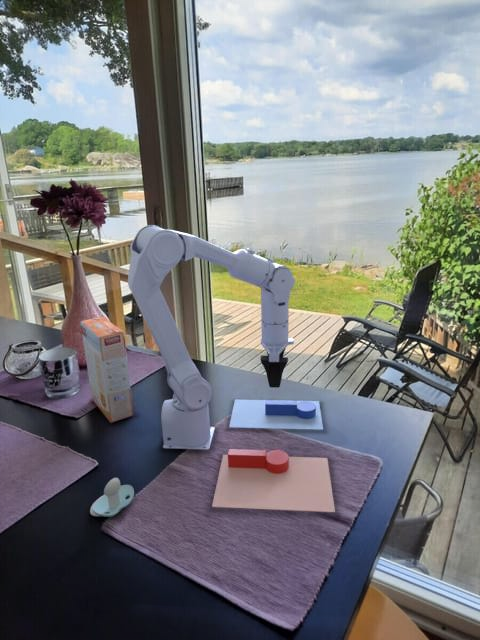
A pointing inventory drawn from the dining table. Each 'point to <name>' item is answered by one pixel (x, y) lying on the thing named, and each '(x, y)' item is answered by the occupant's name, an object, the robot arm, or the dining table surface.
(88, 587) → the dining table surface
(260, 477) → the rose mat
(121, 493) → the pacifier
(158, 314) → the robot arm
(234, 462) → the red spoon
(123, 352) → the cracker box
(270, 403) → the blue spoon
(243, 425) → the blue mat
